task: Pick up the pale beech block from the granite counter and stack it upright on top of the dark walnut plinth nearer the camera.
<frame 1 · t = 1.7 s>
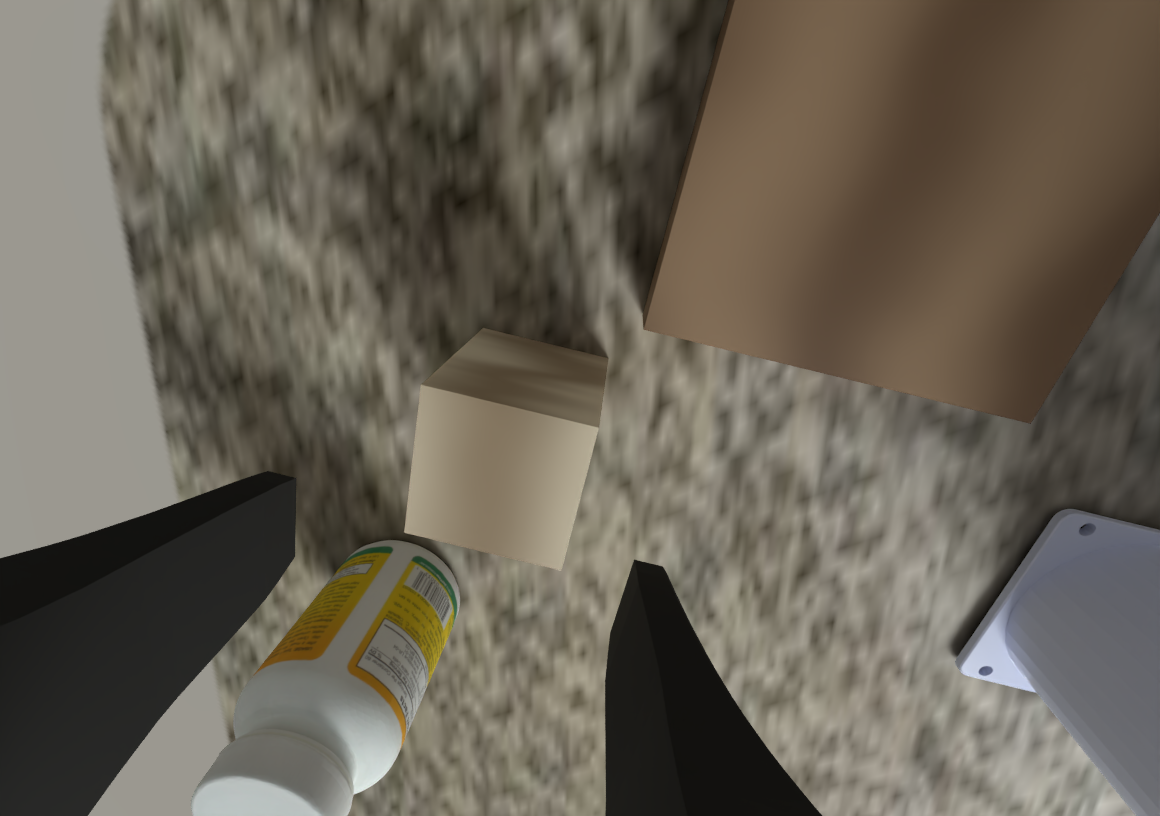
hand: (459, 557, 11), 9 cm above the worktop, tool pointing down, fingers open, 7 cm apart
supplement bottle: (404, 583, 24), on the worktop
walnut plinth: (895, 166, 16), on the worktop
beech block: (533, 400, 20), on the worktop
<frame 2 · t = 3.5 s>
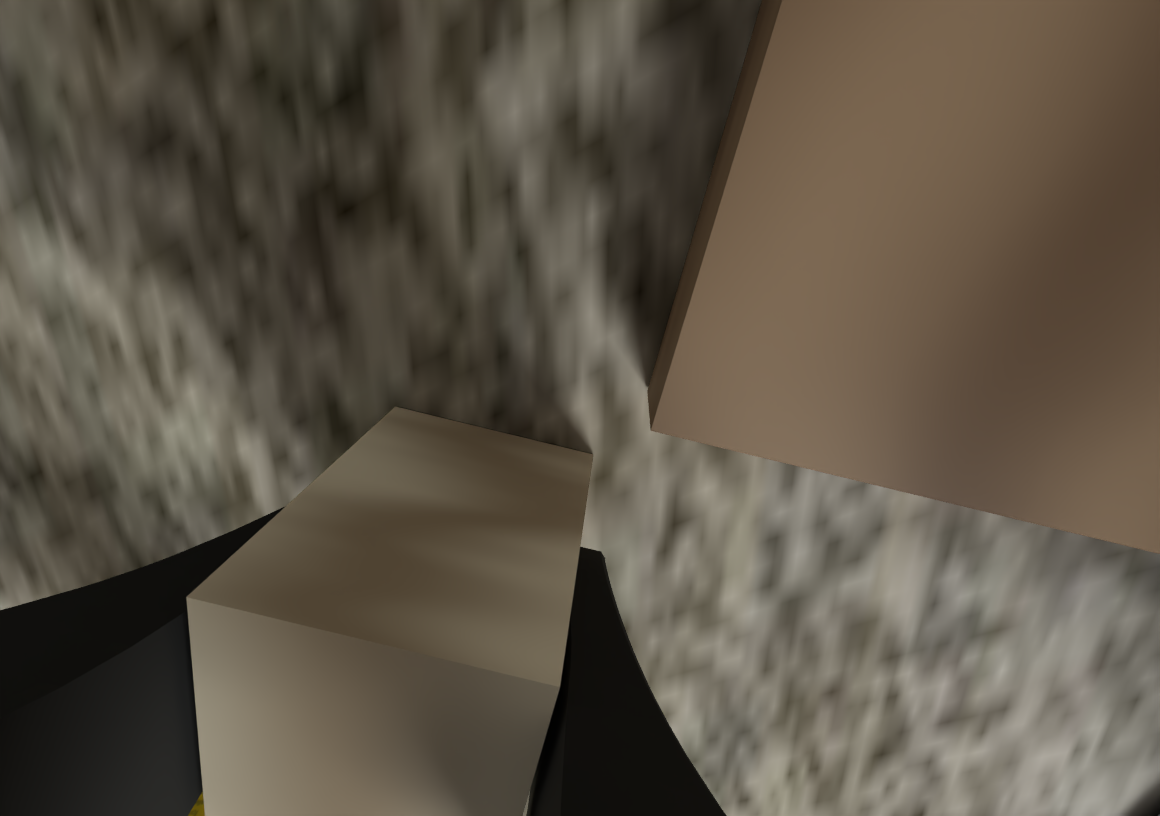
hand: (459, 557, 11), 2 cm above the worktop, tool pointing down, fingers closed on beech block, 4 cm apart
walnut plinth: (1097, 145, 9), on the worktop
beech block: (479, 514, 13), on the worktop, touching gripper
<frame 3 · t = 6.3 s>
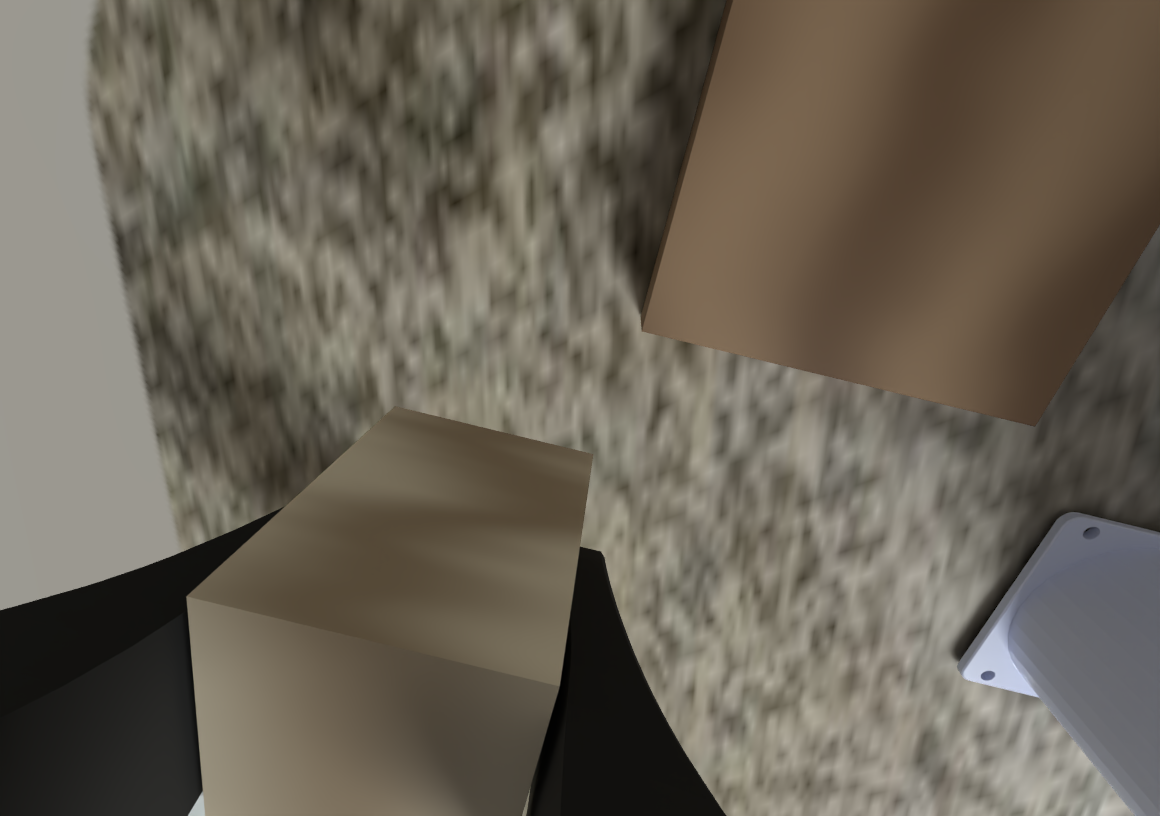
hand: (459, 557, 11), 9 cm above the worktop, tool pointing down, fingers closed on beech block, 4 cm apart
walnut plinth: (898, 164, 15), on the worktop
beech block: (479, 513, 13), point 7 cm above the worktop, touching gripper
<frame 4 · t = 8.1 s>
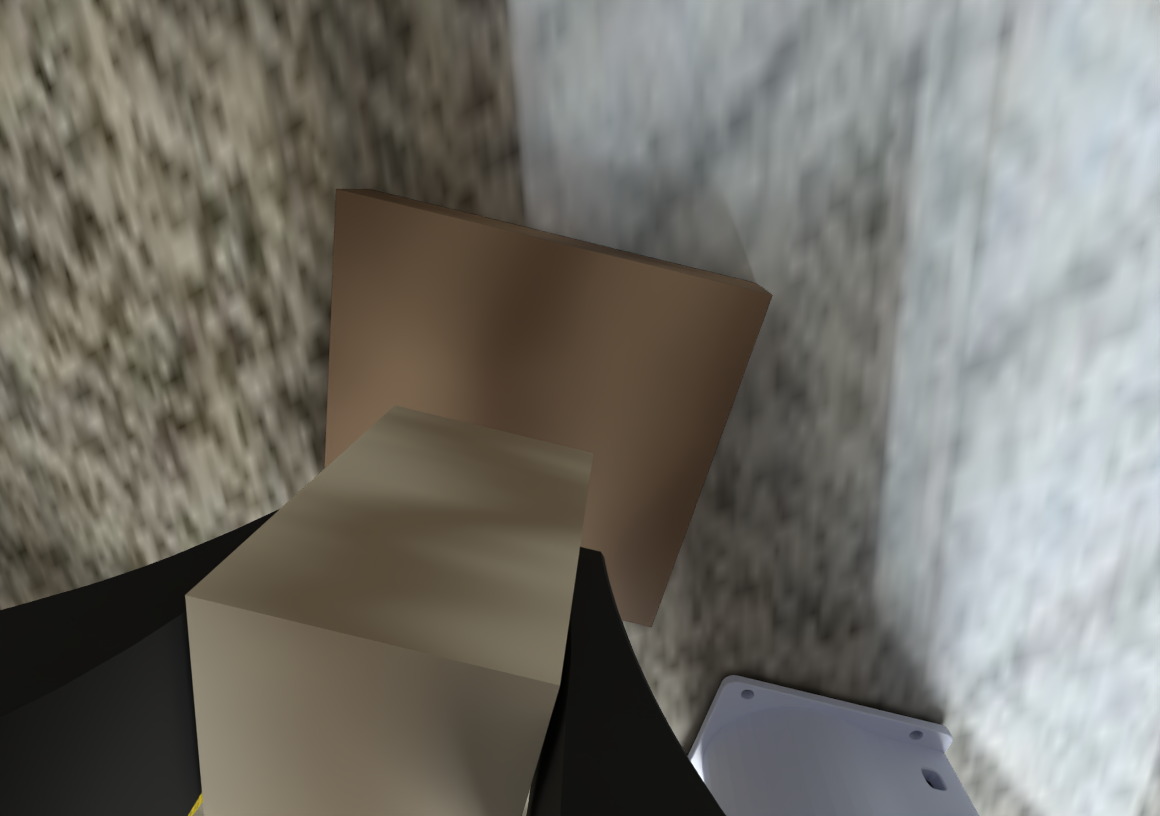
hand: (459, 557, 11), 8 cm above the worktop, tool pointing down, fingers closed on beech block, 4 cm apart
walnut plinth: (527, 413, 18), on the worktop
beech block: (479, 513, 13), point 6 cm above the worktop, touching gripper
when the fingers open (5 cm above the worktop, at t = 9.6 s): beech block stays where it is, resting on walnut plinth.
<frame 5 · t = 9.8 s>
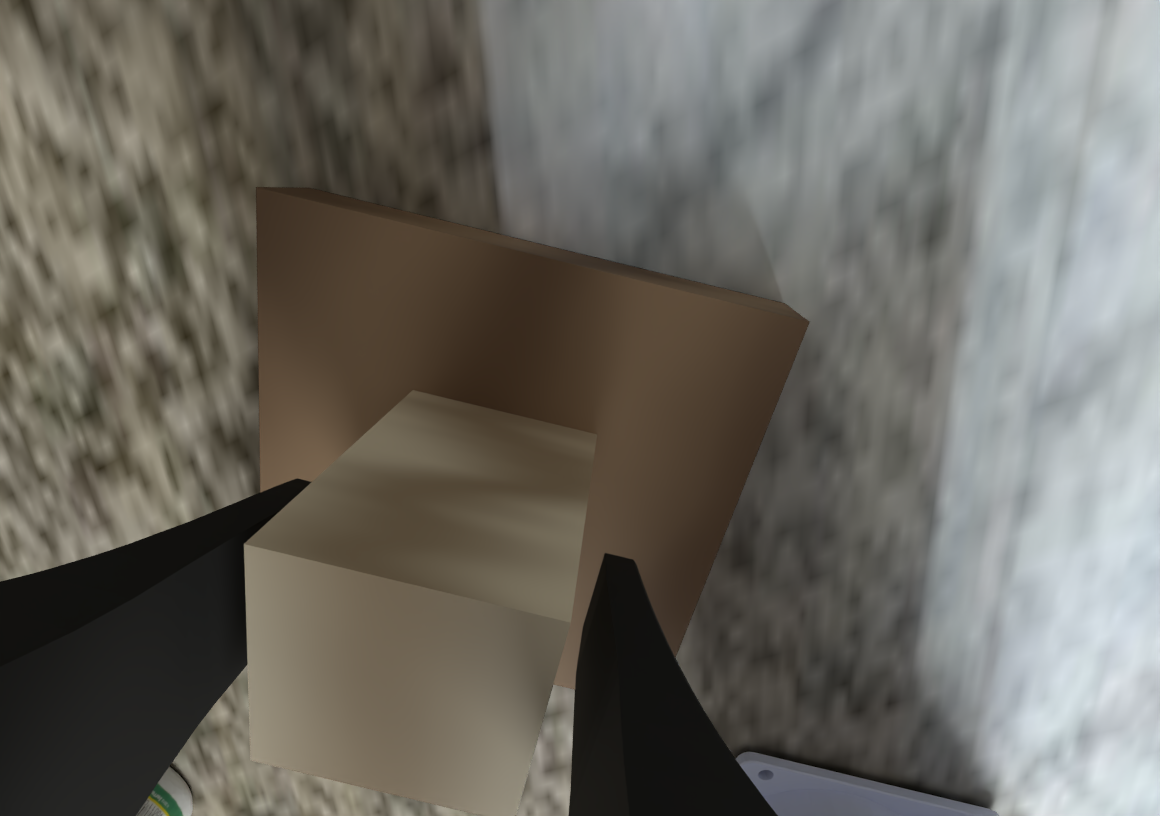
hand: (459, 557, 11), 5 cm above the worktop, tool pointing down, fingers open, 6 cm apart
supplement bottle: (141, 779, 23), on the worktop
walnut plinth: (506, 456, 15), on the worktop
beech block: (490, 491, 14), point 2 cm above the worktop, touching walnut plinth
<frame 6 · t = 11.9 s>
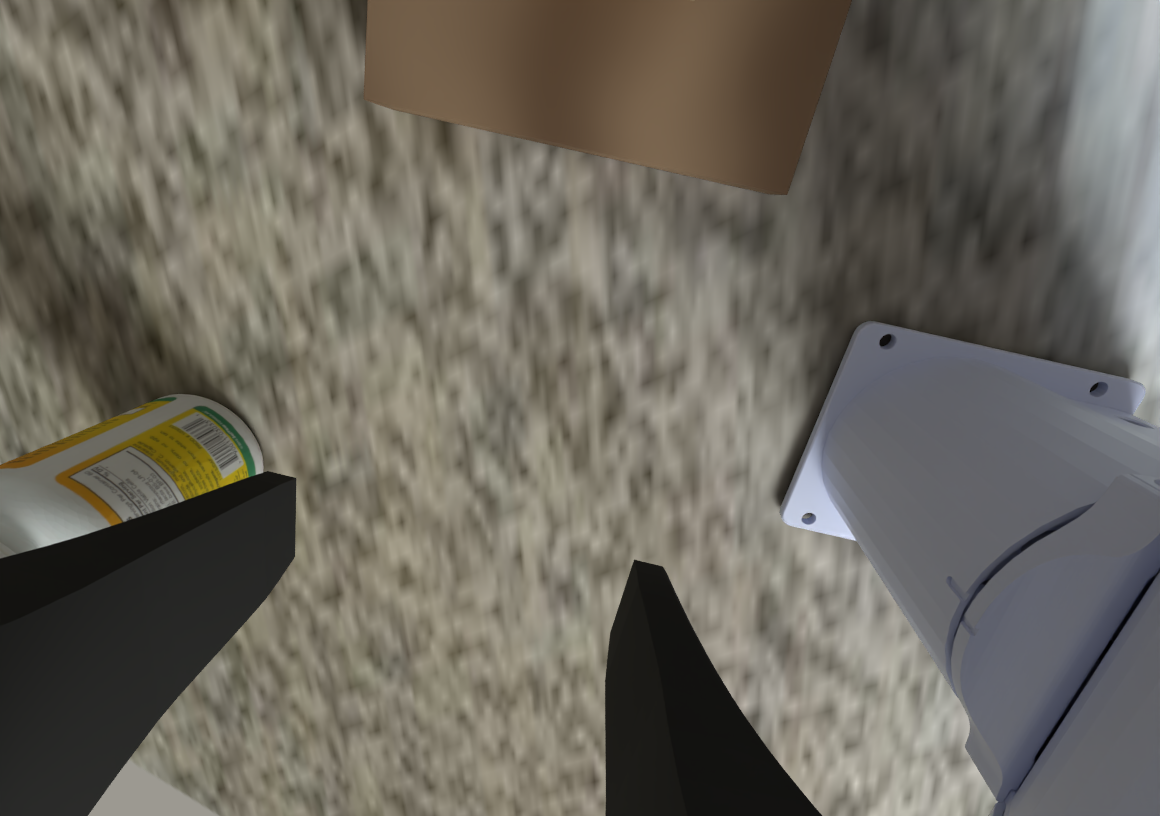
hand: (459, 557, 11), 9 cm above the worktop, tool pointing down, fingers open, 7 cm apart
supplement bottle: (208, 448, 22), on the worktop
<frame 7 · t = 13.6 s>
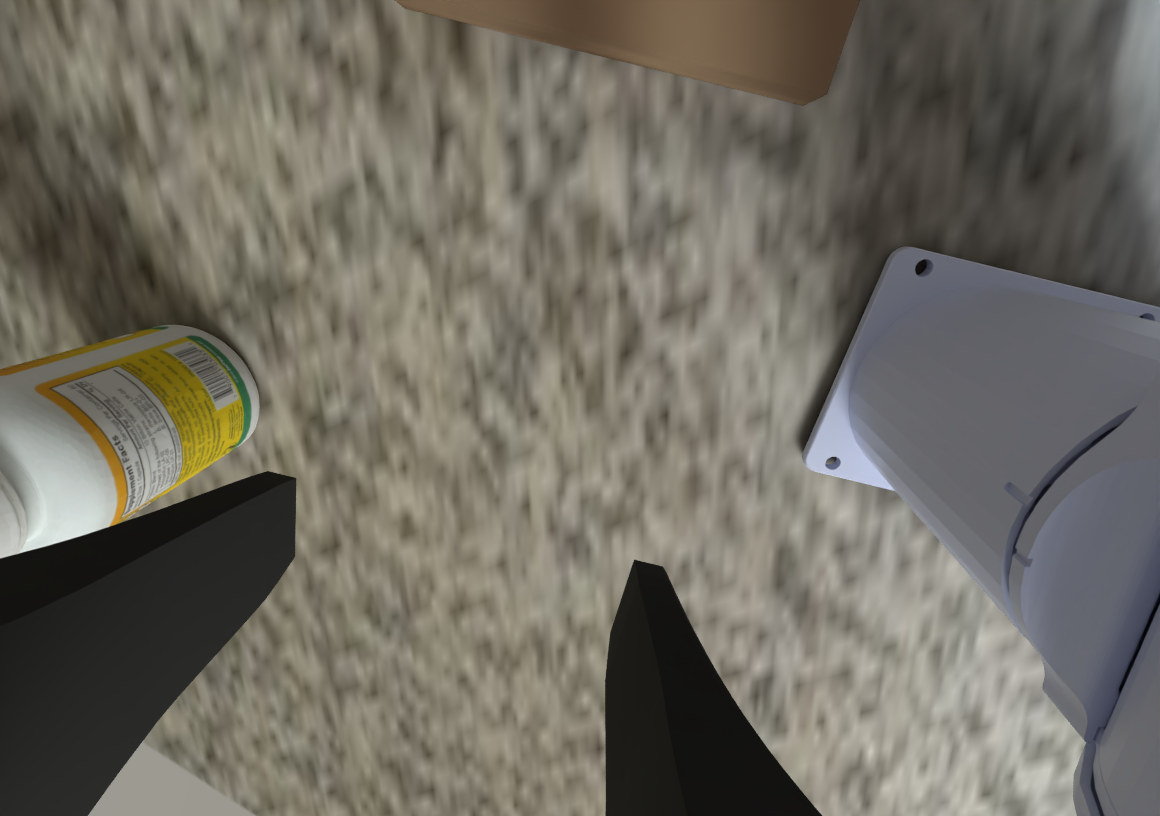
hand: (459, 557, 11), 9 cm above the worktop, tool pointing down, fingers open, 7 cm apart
supplement bottle: (202, 386, 21), on the worktop
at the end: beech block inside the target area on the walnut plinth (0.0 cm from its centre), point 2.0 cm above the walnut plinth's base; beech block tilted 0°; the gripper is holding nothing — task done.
